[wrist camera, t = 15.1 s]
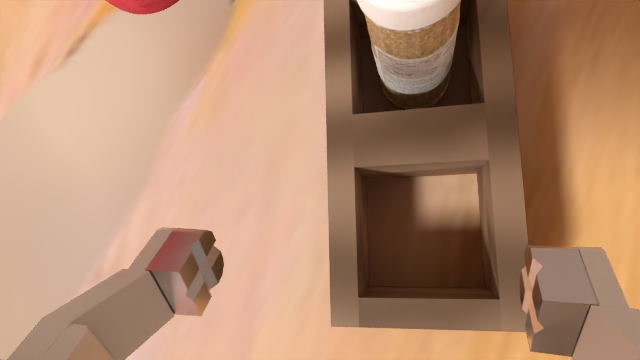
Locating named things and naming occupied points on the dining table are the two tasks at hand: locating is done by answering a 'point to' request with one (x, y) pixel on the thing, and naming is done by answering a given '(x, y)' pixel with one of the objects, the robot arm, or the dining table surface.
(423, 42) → the sprinkles bottle
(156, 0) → the wine bottle
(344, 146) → the rail
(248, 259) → the dining table surface
